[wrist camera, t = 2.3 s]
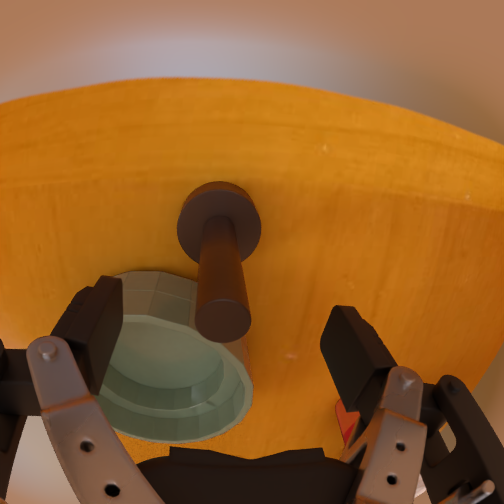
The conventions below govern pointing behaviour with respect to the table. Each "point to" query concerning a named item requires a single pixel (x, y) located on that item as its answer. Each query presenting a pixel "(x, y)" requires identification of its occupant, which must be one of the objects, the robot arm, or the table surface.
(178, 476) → the robot arm
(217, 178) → the table surface
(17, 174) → the table surface
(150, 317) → the bowl
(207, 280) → the brown capped cylinder
